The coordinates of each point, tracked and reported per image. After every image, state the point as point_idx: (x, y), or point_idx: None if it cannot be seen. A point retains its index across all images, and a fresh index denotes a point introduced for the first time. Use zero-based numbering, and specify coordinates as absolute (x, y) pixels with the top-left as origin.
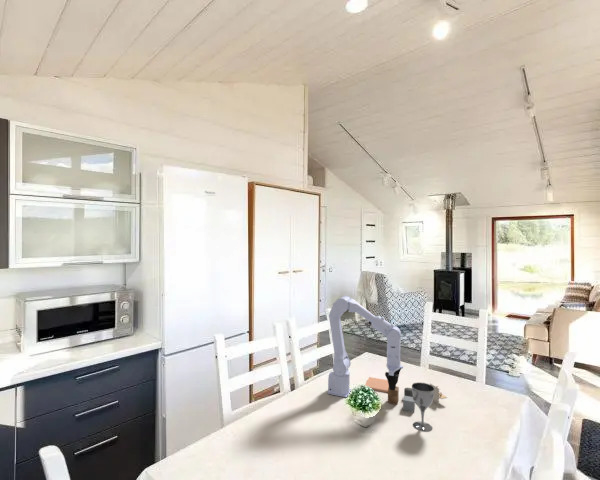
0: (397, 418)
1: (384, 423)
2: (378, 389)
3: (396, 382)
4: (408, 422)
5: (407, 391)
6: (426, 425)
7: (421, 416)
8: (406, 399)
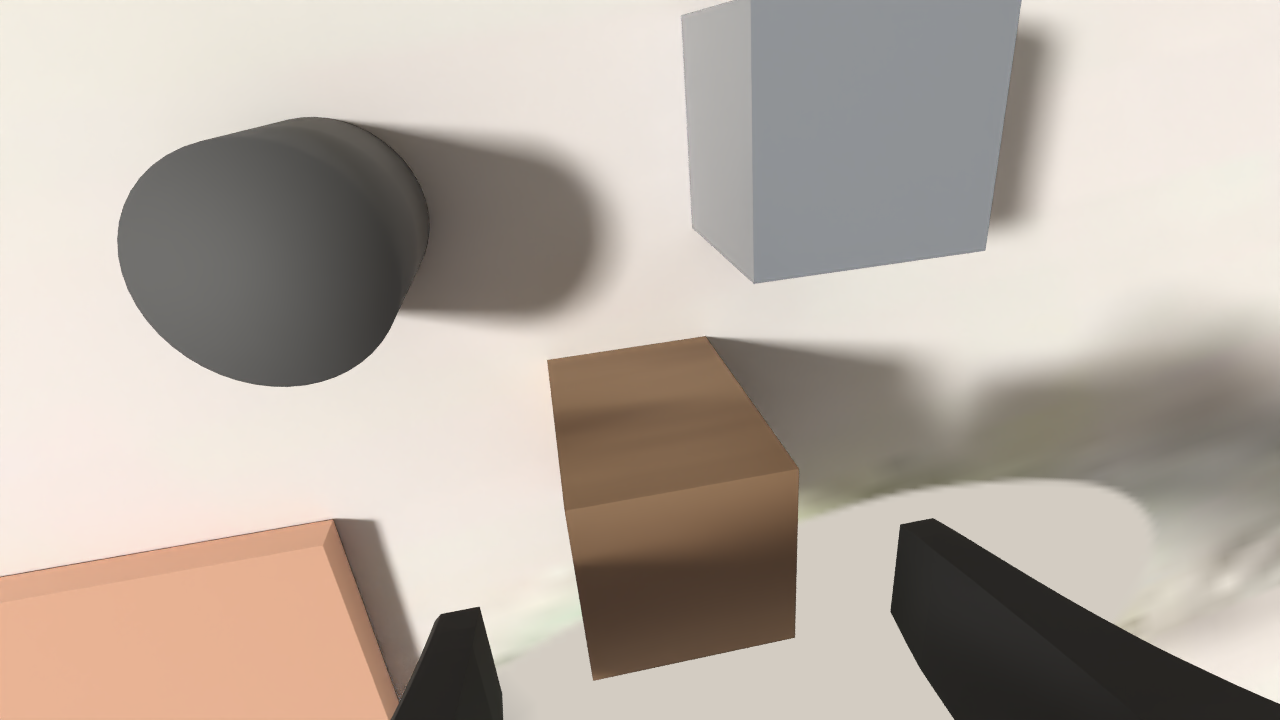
0: (1135, 217)
1: (1275, 328)
2: (388, 708)
3: (482, 638)
4: (1228, 31)
5: (403, 280)
6: None
7: None
8: (942, 187)
